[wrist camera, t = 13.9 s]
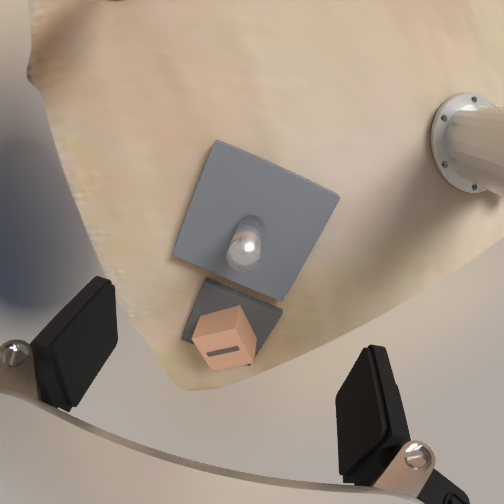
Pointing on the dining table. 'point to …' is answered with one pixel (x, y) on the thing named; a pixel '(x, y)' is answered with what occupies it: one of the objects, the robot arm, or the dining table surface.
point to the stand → (261, 205)
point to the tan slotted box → (225, 339)
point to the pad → (224, 297)
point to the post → (246, 244)
